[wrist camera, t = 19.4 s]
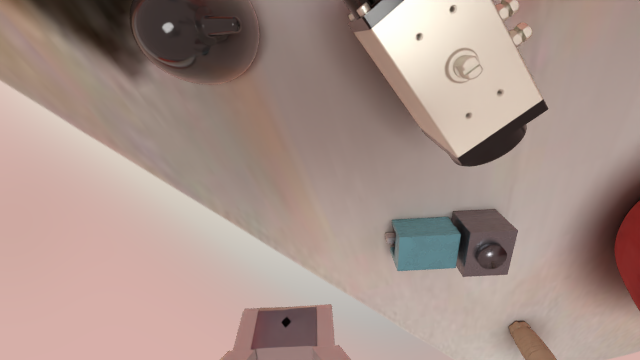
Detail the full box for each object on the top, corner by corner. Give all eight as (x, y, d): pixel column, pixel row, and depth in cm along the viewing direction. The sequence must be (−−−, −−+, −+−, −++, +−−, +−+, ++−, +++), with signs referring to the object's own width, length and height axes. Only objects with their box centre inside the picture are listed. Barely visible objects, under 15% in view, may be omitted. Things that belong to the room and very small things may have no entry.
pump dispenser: (270, 77, 38) (246, 100, 24) (181, 81, 37) (105, 105, 24) (261, -25, 33) (225, -70, 19) (161, -21, 33) (53, -64, 19)
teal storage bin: (390, 251, 48) (397, 271, 44) (391, 219, 46) (399, 237, 42) (443, 248, 48) (455, 267, 44) (447, 216, 46) (460, 234, 42)
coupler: (384, 255, 48) (394, 284, 42) (386, 214, 45) (397, 240, 40) (486, 249, 48) (510, 278, 42) (495, 209, 45) (521, 234, 40)
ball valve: (476, 89, 39) (596, 126, 22) (417, 133, 41) (487, 195, 24) (393, -51, 33) (474, -139, 16) (328, 8, 35) (343, -18, 19)
